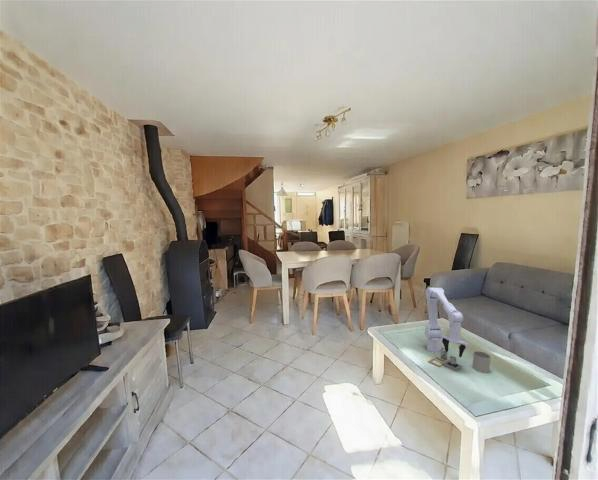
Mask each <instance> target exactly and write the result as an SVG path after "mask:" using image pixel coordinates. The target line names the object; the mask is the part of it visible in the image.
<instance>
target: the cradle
mask: <svg viewBox="0 0 598 480" xmlns="http://www.w3.org/2000/svg"><path fill="white" fill-rule="evenodd" d="M449 364H450V360H448V361H447V362H446V363H445V364H444V365H443V367H444V368H446V369H449V370H451V371H454V372H458V371H459V370H460V369H462V368H463V367H464V366H463V365H461V364H459V363H457V362H456V368H455V367H452V366H450V365H449Z"/></svg>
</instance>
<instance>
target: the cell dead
mask: <svg viewBox="0 0 598 480" xmlns="http://www.w3.org/2000/svg"><path fill="white" fill-rule="evenodd" d="M440 351H441V352H440V359H443V360H445V361H447V360H448V352H445V347H442V348H441V349H440Z"/></svg>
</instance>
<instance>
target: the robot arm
mask: <svg viewBox="0 0 598 480" xmlns="http://www.w3.org/2000/svg"><path fill="white" fill-rule="evenodd" d="M425 298H426V300H427V309H428V324H427V325H426V326H425V327H424V328H425V329H424V335H425V337H426V338H427V339H426V350H427V351H429V352H431V353H438V352H439V351H441V349H442V348H441V347H442V345H443V348H445V352H447V353H448V352H449V345H450V342H451V343H455V344H458V345H459V346H458V351H459V354H458V357H459V358H462V357H463V353H464V351H465V349H467V348H468V347H469V343H468V342H466V341H464V340H461V329H462V323H463V322H464V321H465V320H464V319H465V317H464V315H463V313H462V312H461V311H459V310H457V309H456V307H455V306H454V305H453V304H452V303H451V302H449V301H448V298H447V297H446V296H445V290H444V288H443V287H426V289H425ZM437 300H438V301H439V302H440V303H441V304H442V308H443V310H444V311H445V313H446V314H447V319H448V324H449V329H448V331H449V333H448V335H444V334H443V331H442V327H441V326H440V325H439V324H438V314H437Z"/></svg>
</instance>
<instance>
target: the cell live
mask: <svg viewBox="0 0 598 480" xmlns="http://www.w3.org/2000/svg"><path fill="white" fill-rule="evenodd" d="M449 361H450V364H449V365H450V366H452V367H455V368H456V363H457V357H456V356H454V355H450V356H449Z"/></svg>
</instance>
